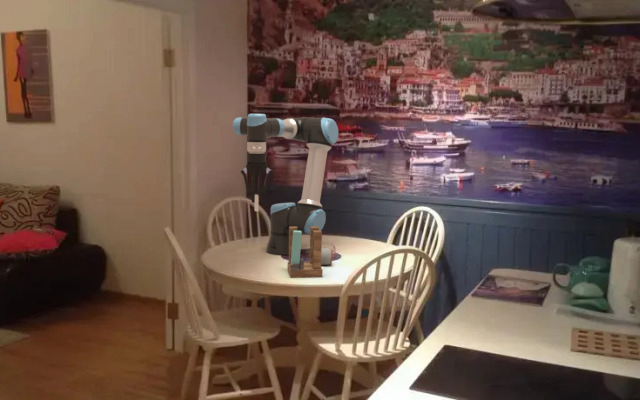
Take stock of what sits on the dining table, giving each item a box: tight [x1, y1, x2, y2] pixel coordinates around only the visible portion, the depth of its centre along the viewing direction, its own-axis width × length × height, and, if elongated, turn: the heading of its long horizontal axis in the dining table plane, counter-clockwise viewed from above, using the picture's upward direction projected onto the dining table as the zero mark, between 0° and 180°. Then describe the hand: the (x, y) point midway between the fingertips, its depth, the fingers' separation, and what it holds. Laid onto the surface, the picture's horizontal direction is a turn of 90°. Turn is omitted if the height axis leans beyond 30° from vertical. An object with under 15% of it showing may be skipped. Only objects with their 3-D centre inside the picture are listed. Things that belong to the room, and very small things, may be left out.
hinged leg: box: [291, 230, 303, 266], centre depth 252 cm, size 3×3×15 cm
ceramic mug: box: [321, 247, 333, 266], centre depth 273 cm, size 11×8×8 cm
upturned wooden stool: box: [287, 226, 323, 279], centre depth 256 cm, size 14×13×18 cm
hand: (256, 210), depth 252 cm, fingers closed
